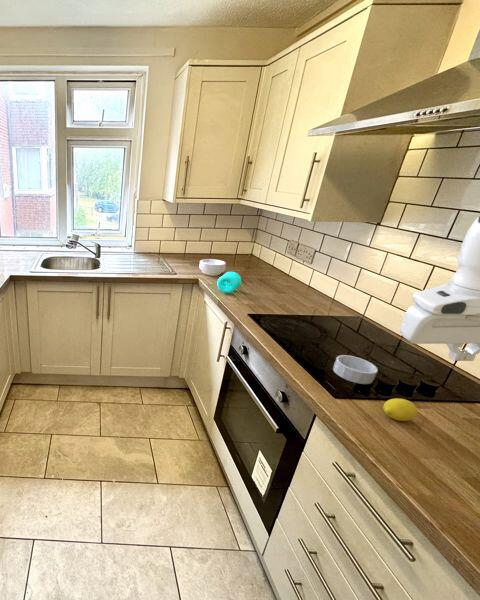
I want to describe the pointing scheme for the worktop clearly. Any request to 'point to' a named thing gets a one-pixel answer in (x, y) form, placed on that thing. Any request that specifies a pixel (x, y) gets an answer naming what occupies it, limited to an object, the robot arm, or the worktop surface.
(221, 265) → the paper bowls
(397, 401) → the lemon
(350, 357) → the pale grey round dish
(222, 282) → the turquoise rounded cylinder
